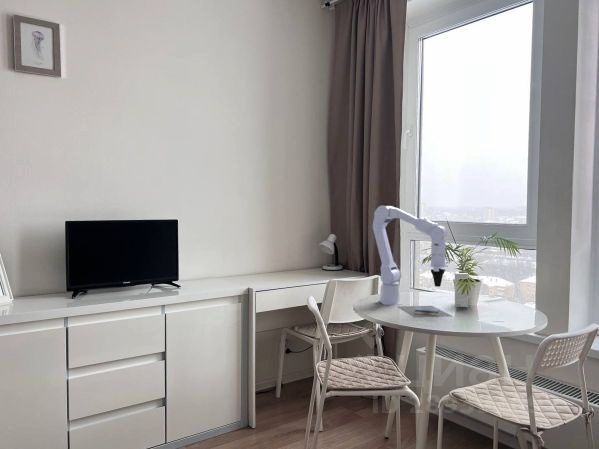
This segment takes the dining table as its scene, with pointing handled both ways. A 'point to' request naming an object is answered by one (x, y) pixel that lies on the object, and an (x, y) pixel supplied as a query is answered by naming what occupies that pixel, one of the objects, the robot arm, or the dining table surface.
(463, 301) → the skincare box
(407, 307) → the mat
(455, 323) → the dining table surface
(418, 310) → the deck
